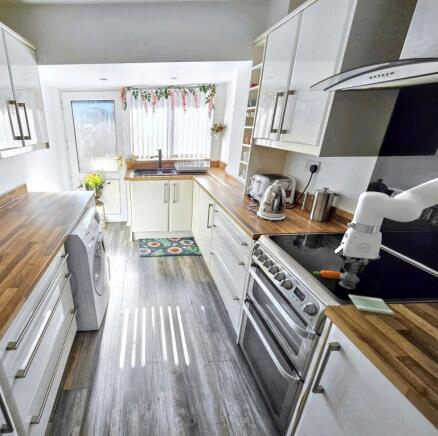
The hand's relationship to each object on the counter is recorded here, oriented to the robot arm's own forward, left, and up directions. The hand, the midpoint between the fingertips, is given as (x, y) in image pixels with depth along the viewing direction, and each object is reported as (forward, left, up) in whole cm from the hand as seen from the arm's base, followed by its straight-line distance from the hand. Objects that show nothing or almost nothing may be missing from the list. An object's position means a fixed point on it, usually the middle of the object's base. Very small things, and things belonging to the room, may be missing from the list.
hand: (351, 270), depth 91 cm
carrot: (+3, -6, -8) cm, 11 cm away
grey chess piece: (0, 0, -7) cm, 7 cm away
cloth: (-4, +9, -8) cm, 13 cm away
